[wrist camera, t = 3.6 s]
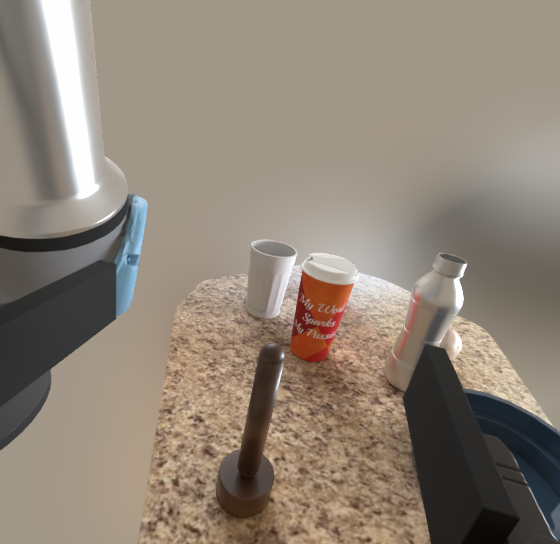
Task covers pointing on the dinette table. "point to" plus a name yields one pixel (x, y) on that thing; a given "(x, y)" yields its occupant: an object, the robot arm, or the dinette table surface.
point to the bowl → (524, 448)
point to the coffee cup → (321, 304)
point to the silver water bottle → (426, 317)
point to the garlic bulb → (451, 343)
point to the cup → (268, 277)
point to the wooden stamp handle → (253, 443)
